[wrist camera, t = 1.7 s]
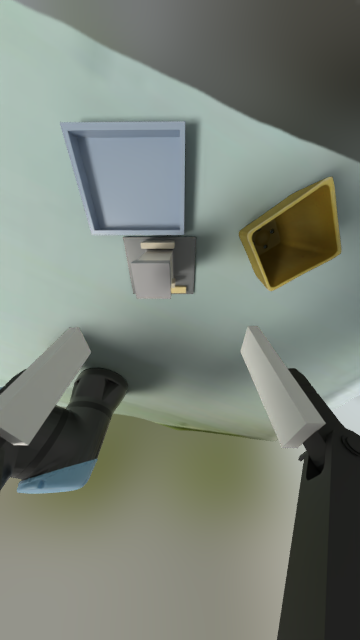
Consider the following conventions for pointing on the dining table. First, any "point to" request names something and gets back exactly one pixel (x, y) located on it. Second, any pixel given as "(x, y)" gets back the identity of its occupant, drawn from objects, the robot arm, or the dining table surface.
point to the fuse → (154, 274)
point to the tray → (129, 175)
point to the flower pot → (294, 235)
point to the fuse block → (182, 258)
